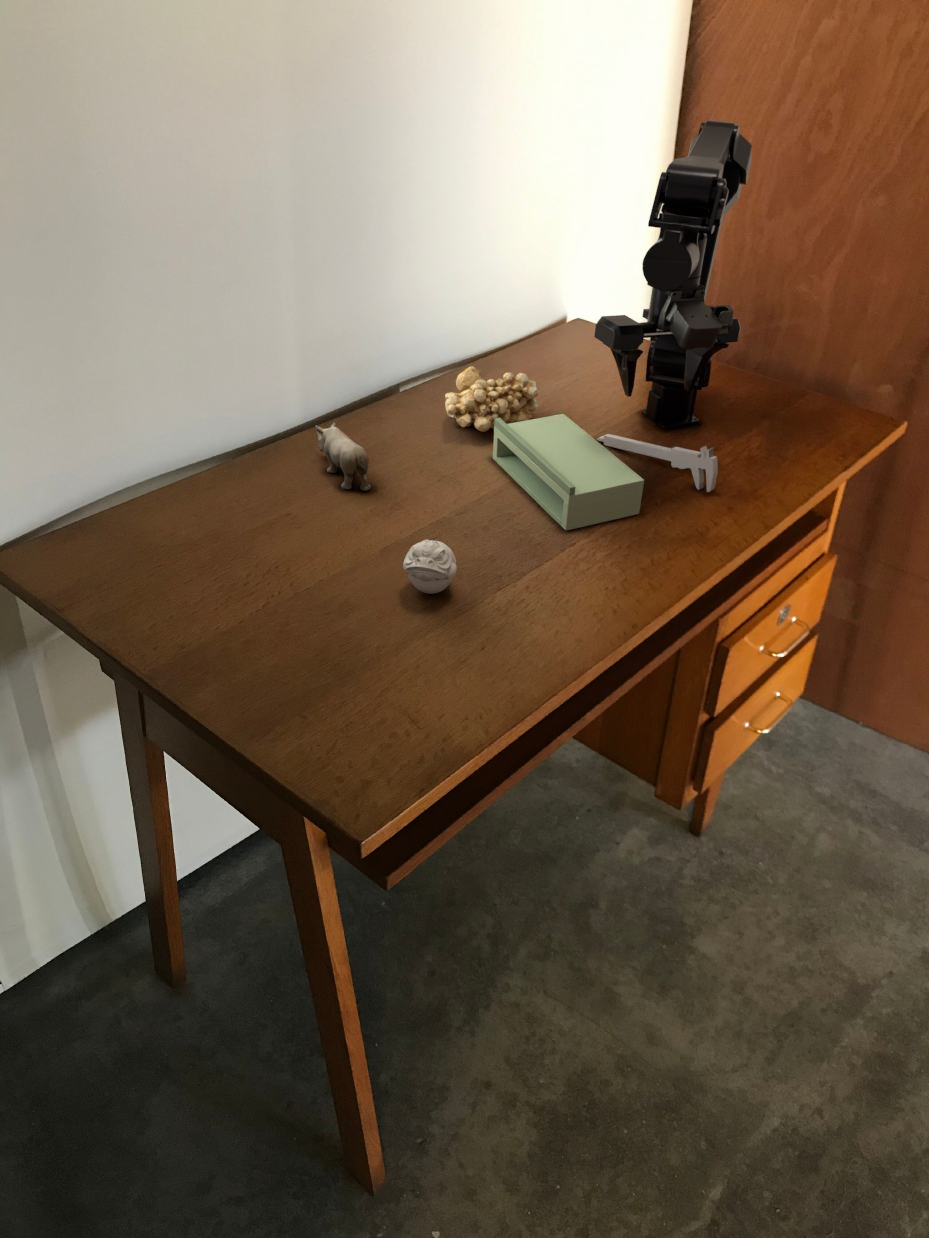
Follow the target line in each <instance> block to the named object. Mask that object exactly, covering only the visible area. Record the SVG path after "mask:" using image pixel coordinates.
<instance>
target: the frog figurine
mask: <svg viewBox="0 0 929 1238" xmlns="http://www.w3.org/2000/svg"><path fill="white" fill-rule="evenodd" d="M402 569H403V571H404V573H405V574H407V579H408V581H409V582H410V583H411V584H412V585H413V586H414V588H416V589H417V591H419V592H422V593H424V594H430V595H433V594H438V593H440V592H442V591H443V590H445V589H446V588H447V587H448V586H449V585H450V584H451V581H452V579H454V577H455V576H456V574H457V569H458V566H457V559H456V556H455V554H454V552H453V551H452V549H451V548H450V547H449V546H448V545H446V544H445V543H444V542H442V541H440V540H439V541H438V540H435V539H433V540H430V539H423V540H422V541H419V542H417V543H415V544H413V545H412V546H411V547H410V548H409V550H408V552H407V553H406V555H405V558H404V560H403V563H402Z"/></svg>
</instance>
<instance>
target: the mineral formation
mask: <svg viewBox="0 0 929 1238" xmlns="http://www.w3.org/2000/svg"><path fill="white" fill-rule="evenodd" d="M482 373H483V372H482V371H481V370H479V369H477V368H476V367H475V366H473V365H471V366H469V367H467V368H465V369H464V370H463V371H462V372H460V373H458V375H457V378H456V380H455V387H456V388H457V390H458V393H457V392H453V391H451V392H446V393H445V395H444V398H445V399H444V400H445V402H444V407H445V411H446V413H447V415H448V417H451V418H452V419H455V421H456V423H457V425H458V426H460V427H462V428H466V427H467V428H470V427H471V426H472V424H473V426H474V428H475V429H476V430H478V431H479V432H483V433H485V432H487V431H489V430H494V422H495V418H501V419H502V420H503V421H504V422H505V423H506V424H510V423H515V422H521V421H526V420H531V419H532V413H534V412H536V411H537V410H538V408H539V406H540V405H539V403H538V400H536V398H535V397H539V391H538V388H537V382H536V381H534V380H531V379H529V378H528V377H529V376H528V375H527V374H526V373H524V372H519V373H517V374H516V375H514V373H512V372H505V373H503V376H502V378H500V377H498V378H497V379H496V380H494V379H493V378H489V379H488V380H485V379H483V378H481V376H482Z"/></svg>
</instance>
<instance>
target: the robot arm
mask: <svg viewBox="0 0 929 1238" xmlns="http://www.w3.org/2000/svg"><path fill="white" fill-rule="evenodd" d="M740 129H741V127H740V124H736V122H735V121H734V122H733V121H725V120H724V121H722V120H713V119H707V120H706V121H701V123H700V126H699V129H698V134H696V135H695V136H694V137H692V139H691V142H690V146H689V150H688V154H687V156H685V157H678V158H674V159H673V160H672V161H671V162H670V163H669V164H668V165H667V168H666V170H665V171H661V172H660V173H661V174H660V176H659V180H658V183H657V187H656V191H655V195H654V198H653V203H652V207H651V211H650V215H649V219H648V224H647V226H648V227H649V228H657V229H658V228H659V229H660V230H659V234H658V238H657V240H656V241H655V242H654V243H653V244H652V246H651V247H649V248H648V250H647V251H646V253H645V255H644V257H643V259H642V274H643V277H644V279H645V281H646V284H647V286H649V287H651V293H650V301H649V305H648V308H643V310H642V316H641V317H642V318H644V319H646V320H647V321H643V322H638V321H636V320H634V319H633V318H631V317H629V316H628V315H625V314H617V315H602V316H601V317H600V318H599V319H598V320H597V322H596V324H595V327H594V328H595V329H594V336H593V337H594V338H595V339H597V340H598V341H599V342H601V343H602V344H603V345H604V346H606V347H608V348H609V349H610V351H611V353H612V356H613V359H614V361H615V364H616V368H617V371H618V375H619V379H620V381H621V385H622V389H623V392H624V395H625V396H627V397H632V395H633V392H634V387H635V380H636V372H637V364H638V360H639V358H640V357H641V356H642V355H643V353H644V351H643V350H642V349H640V348H639V347H640V346H641V345H642V344H643V343H644V339H648V338H654V340H651V342H650V344H649V347H648V351H647V355H646V356H647V357H646V367H645V369H646V370H645V382H647V383H649V382H650V383H651V388H650V389H649V391H648V396H647V402H646V408H645V409H642V410H641V414H642V415H643V416H645V418H647V419H648V420H649V421H651V422H652V423H654V424H655V425H657V426H658V427H659V428H661V429H662V430H670V429H677V428H682V427H686V426H691V425H697V424H699V423H700V419H699V418H697V417H696V416H695V415H694V412H695V406H696V400H697V394H698V391H702V389H703V388H704V389H705V388H707V387H709V386H710V385H709V384H710V380H711V374H712V373H711V372H712V363H713V361H712V359H711V358H712V357H713V355H715V354H716V353H718V352H720V351H721V350H723V349H727V348H729V346H730V343H738V342H739V339H740V335H741V329H742V328H741V324H740V321H739V319H738V318H737V317H735V316H734V313H735V311H734V309H733V307H732V306H731V305H730V304H719V305H715V306H714V305H707V304H706V299H707V294H708V290H709V285H710V282H711V281H710V280H711V277H712V272H713V267H714V263H715V258H716V253H717V249H718V245H719V240H720V235H721V231H722V226H723V222H724V218H725V215H727V214H728V212H729V211H730V210H731V209H732V208H733V207H734V206H735V204H736V203H738V201H739V199H740V196H741V193H742V188H743V185H747V184H748V181H749V177H750V173H751V167H752V161H753V145H752V143H750V141H748V139H746V138H745V136H743V135H742V133H740V132H741V130H740Z"/></svg>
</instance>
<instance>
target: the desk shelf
mask: <svg viewBox="0 0 929 1238" xmlns="http://www.w3.org/2000/svg"><path fill="white" fill-rule="evenodd" d="M492 445H493V447H492V459H493V460H494V462H495V463H496V464H497V465H499V466H500V467H501V468H502V470H504V471H505V472H506V474H507V475H509V476H510V477H511V478H512V479H513V480H514V481H515V482H516V484H518V485H519V486H520V487H521V488H522V489H523V490H524V491H525V492H526V493H527V494H528V495H529V496H530V497H531V498H532V499H533V500H534V502H536V503H537V504H538V505H539V507H541V508H542V509H543V510H544V511H545V512H546V513H547V514H548V515H549V516H550V517H551V518H552V519H554V521H555V522H556V523H557V524H558V525H559V526H560V527H561V528H563V529H564V531H570V530H574V529H579V528H584V527H587V526H592V525H596V524H601V523H605V522H610V521H614V520H619V519H623V518H627V517H632V516H636V515H639V514H640V511H641V504H642V497H643V491H644V484H645V479H644V478H642V477H641V476H640V475H639V474H637V472H635V471H634V470H633V469H632V468H630V467H629V466H628V465H627V464H625V463H624V462H623V461H622V460H621V459H619V457H617V456H615V454H613V453H612V452H611V451H610V450H608V449H607V448H606V447H605V446H604V445H602V444H601V442H598V440H597V439H595V438H594V437H592V435H590V434H589V433H588V432H586V430H584V429H583V428H582V427H580V426H579V425H578V424H577V423H576V422H574V421H573V420H572V419H570V418H569V417H568V416H567V415H566V414H564V413H560V414H555V415H549V416H543V417H538V418H537V417H536V418H534V419H533V418H531V419H530V420H526V421H521V422H516V421H515V422H513V423H510V424H506V423H505V422H504V421H503V420H502V419H501V418H495V422H494V429H493V444H492Z"/></svg>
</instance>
